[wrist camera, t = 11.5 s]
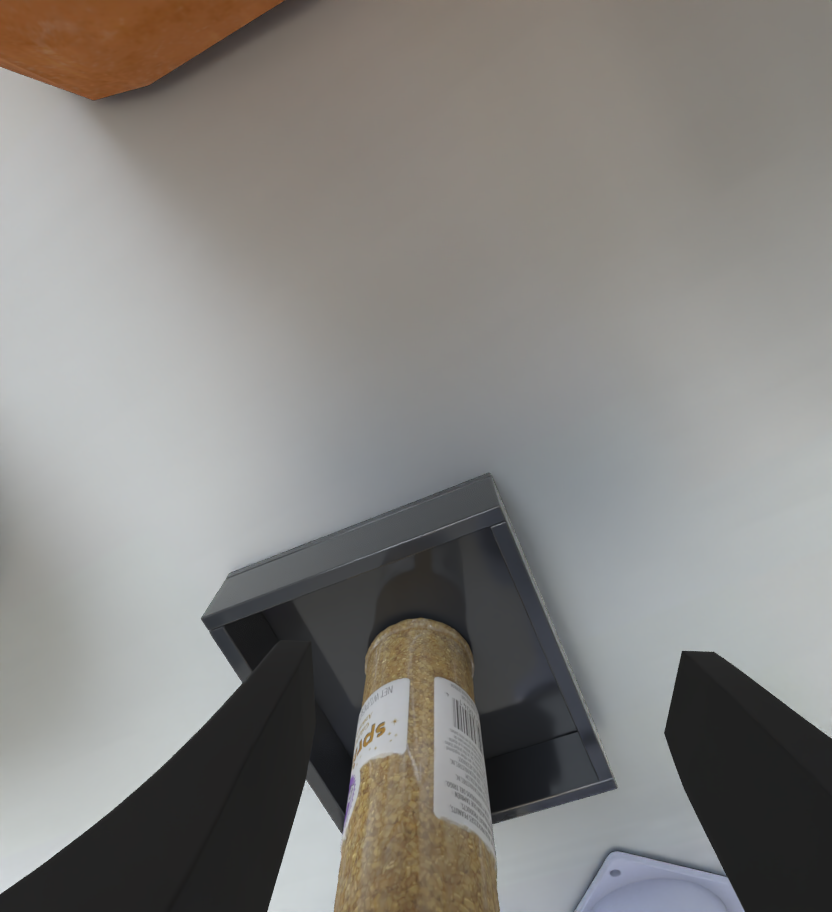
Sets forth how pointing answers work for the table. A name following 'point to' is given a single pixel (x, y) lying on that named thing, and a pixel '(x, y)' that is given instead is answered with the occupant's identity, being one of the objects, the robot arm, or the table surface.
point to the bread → (114, 39)
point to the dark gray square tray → (437, 598)
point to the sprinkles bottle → (418, 781)
